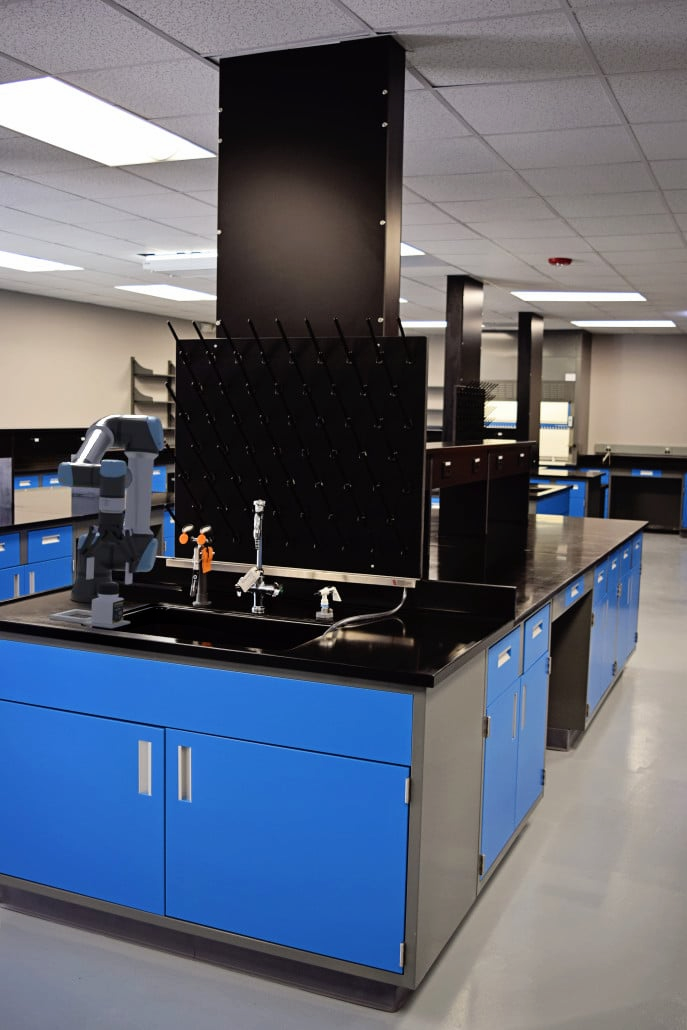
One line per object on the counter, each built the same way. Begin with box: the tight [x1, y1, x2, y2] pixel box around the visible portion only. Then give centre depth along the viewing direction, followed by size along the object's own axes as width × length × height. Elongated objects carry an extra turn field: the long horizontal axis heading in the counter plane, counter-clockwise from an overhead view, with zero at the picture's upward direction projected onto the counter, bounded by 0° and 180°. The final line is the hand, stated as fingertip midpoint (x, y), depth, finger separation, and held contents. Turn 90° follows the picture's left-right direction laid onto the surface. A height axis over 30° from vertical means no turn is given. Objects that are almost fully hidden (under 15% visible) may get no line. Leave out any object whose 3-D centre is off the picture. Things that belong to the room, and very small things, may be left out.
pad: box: [82, 619, 131, 629], centre depth 285 cm, size 10×10×1 cm
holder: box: [49, 608, 92, 624], centre depth 292 cm, size 13×13×1 cm
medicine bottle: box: [90, 581, 125, 625], centre depth 285 cm, size 7×7×12 cm
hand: (109, 581), depth 285 cm, fingers open, 13 cm apart
